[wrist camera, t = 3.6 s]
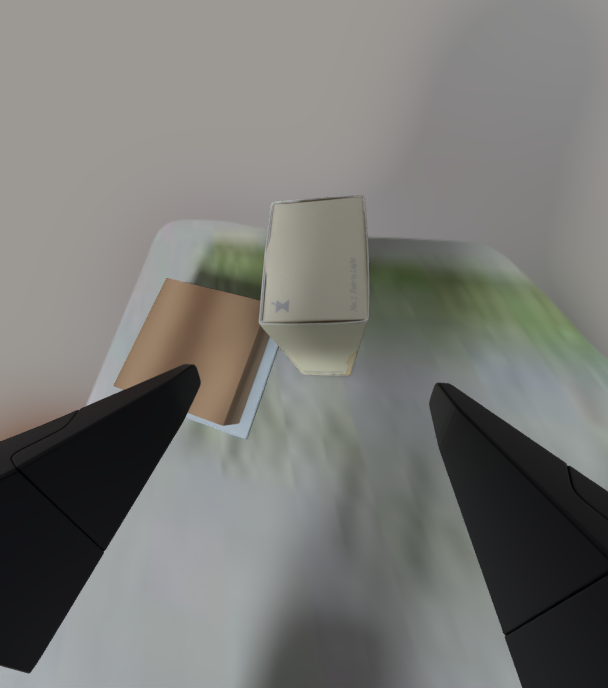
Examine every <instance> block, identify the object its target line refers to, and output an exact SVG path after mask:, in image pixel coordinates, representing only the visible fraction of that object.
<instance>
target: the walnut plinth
mask: <svg viewBox="0 0 608 688" xmlns="http://www.w3.org/2000/svg"><path fill="white" fill-rule="evenodd" d="M259 313H260V300H256V299H252V298H248V297H243V296H239V295H235V294H231V293H227V292H223V291H219V290H214V289H210V288H206V287H202V286H198V285H194V284H189V283H185V282H181V281H177V280H173V279H169V278H166V280H165V282H164V284H163V286H162V288H161V290H160V292H159V294H158V296H157V298H156V300H155V302H154V304H153V306H152V308H151V310H150V312H149V314H148V317H147V319H146V321H145V323H144V325H143V327H142V329H141V331H140V333H139V335H138V337H137V339H136V341H135V343H134V345H133V347H132V349H131V351H130V353H129V355H128V357H127V359H126V361H125V363H124V365H123V367H122V369H121V371H120V373H119V375H118V377H117V379H116V381H115V383H114V385H113V386H115V387H118V388H121V389H123V390H125V389H127V388H130V387H132V386H134V385H137V384H139V383H141V382H144V381H146V380H148V379H150V378H153V377H155V376H157V375H160V374H162V373H164V372H167V371H169V370H171V369H174V368H176V367H178V366H181V365H183V364H194V365H195V366H196V367H197V370H198V373H199V376H200V380H201V385H200V388H199V390H198V392H197V394H196V397H195V399H194V401H193V403H192V405H191V407H190V409H189V411H188V413H189V414H192V415H194V416H197V417H200V418H203V419H205V420H208V421H211V422H214V423H216V424H219V425H222V426H226V425H233V424H239V423H240V420H241V417H242V414H243V411H244V409H245V406H246V403H247V400H248V397H249V394H250V392H251V389H252V386H253V383H254V380H255V378H256V375H257V372H258V369H259V366H260V364H261V361H262V358H263V355H264V352H265V349H266V347H267V344H268V341H269V338H270V336H269V335H268V334H267V332H266V331H265V330H264V329H263V328H262V327H261V325H260V324H259Z"/></svg>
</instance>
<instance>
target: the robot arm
mask: <svg viewBox="0 0 608 688" xmlns="http://www.w3.org/2000/svg"><path fill="white" fill-rule="evenodd" d="M200 385H201V380H200V376H199V373H198V370H197V367H196V366H195V365H194V364H183V365H181V366H178V367H176V368H174V369H171V370H169V371H167V372H164V373H162V374H160V375H157V376H155V377H153V378H150V379H148V380H146V381H144V382H141V383H139V384H137V385H134V386H132V387H130V388H127V389H125V390H123V391H120V392H118V393H116V394H113V395H111V396H109V397H107V398H104V399H102V400H100V401H97V402H95V403H93V404H90V405H88V406H86V407H83V408H81V409H80V410H76V411H74V412H72V413H69V414H67V415H65V416H62V417H60V418H58V419H55V420H53V421H51V422H48V423H46V424H43V425H41V426H38V427H36V428H34V429H31V430H28V431H26V432H23V433H21V434H18V435H16V436H13V437H11V438H8V439H6V440H3V441H0V666H3V667H6V668H10V669H14V670H17V671H21V672H25V673H28V674H29V673H30V672H31V671H32V670H33V668H34V667H35V665H36V664H37V663H38V661H39V659H40V658H41V656H42V655H43V653H44V651H45V650H46V648H47V646H48V645H49V643H50V641H51V640H52V638H53V636H54V635H55V633H56V631H57V630H58V628H59V627H60V625H61V623H62V622H63V620H64V618H65V617H66V615H67V613H68V612H69V610H70V608H71V607H72V605H73V603H74V602H75V600H76V598H77V597H78V595H79V593H80V592H81V590H82V588H83V587H84V585H85V583H86V582H87V580H88V579H89V577H90V575H91V574H92V572H93V570H94V569H95V567H96V565H97V564H98V562H99V560H100V559H101V557H102V555H103V554H104V551H105V550H106V548H107V547H108V545H109V544H110V542H111V540H112V539H113V537H114V535H115V534H116V532H117V530H118V529H119V527H120V525H121V524H122V522H123V520H124V519H125V517H126V515H127V514H128V512H129V510H130V509H131V507H132V506H133V504H134V502H135V501H136V499H137V497H138V496H139V494H140V492H141V491H142V489H143V487H144V486H145V484H146V482H147V481H148V479H149V477H150V476H151V474H152V472H153V471H154V469H155V468H156V466H157V464H158V463H159V461H160V459H161V458H162V456H163V454H164V453H165V451H166V449H167V448H168V446H169V444H170V443H171V441H172V439H173V438H174V436H175V434H176V433H177V431H178V430H179V428H180V426H181V425H182V423H183V421H184V419H185V417H186V415H187V413H188V411H189V409H190V407H191V405H192V403H193V401H194V399H195V397H196V394H197V392H198V390H199V388H200ZM429 406H430V411H431V415H432V420H433V424H434V429H435V433H436V438H437V442H438V446H439V450H440V453H441V456H442V459H443V461H444V464H445V467H446V470H447V473H448V476H449V479H450V481H451V484H452V487H453V490H454V493H455V496H456V499H457V501H458V504H459V507H460V510H461V513H462V516H463V519H464V521H465V524H466V527H467V530H468V533H469V536H470V539H471V542H472V544H473V547H474V550H475V553H476V556H477V559H478V562H479V564H480V567H481V570H482V573H483V576H484V579H485V582H486V584H487V587H488V590H489V593H490V596H491V599H492V602H493V604H494V607H495V610H496V613H497V616H498V619H499V622H500V624H501V627H502V630H503V633H504V635H506V636H505V639H506V642H507V645H508V648H509V651H510V654H511V657H512V659H513V662H514V665H515V668H516V671H517V674H518V677H519V680H520V682H521V685H522V688H608V491H606V490H605V489H603V488H602V487H600V486H599V485H597V484H596V483H594V482H593V481H591V480H590V479H588V478H587V477H586V476H584V475H583V474H581V473H580V472H578V471H577V470H575V469H574V468H572V467H571V466H567V464H566V463H565V462H564V461H562V460H561V459H559V458H558V457H556V456H555V455H553V454H552V453H550V452H549V451H548V450H546V449H545V448H543V447H542V446H540V445H539V444H537V443H536V442H534V441H533V440H531V439H530V438H529V437H527V436H526V435H524V434H523V433H521V432H520V431H518V430H517V429H515V428H514V427H512V426H511V425H510V424H508V423H507V422H505V421H504V420H502V419H501V418H499V417H498V416H496V415H495V414H494V413H492V412H491V411H489V410H488V409H486V408H485V407H483V406H482V405H480V404H479V403H477V402H476V401H475V400H473V399H472V398H470V397H469V396H467V395H466V394H464V393H463V392H461V391H460V390H458V389H457V388H456V387H454V386H453V385H451V384H449V383H436V384H435V386H434V389H433V392H432V395H431V398H430V402H429Z"/></svg>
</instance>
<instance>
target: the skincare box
mask: <svg viewBox="0 0 608 688" xmlns="http://www.w3.org/2000/svg"><path fill="white" fill-rule="evenodd" d="M369 295H370V292H369V255H368V235H367V219H366V206H365V198H364V196H345V197H326V198H312V199H299V200H285V201H276V202H273V203H272V204H271V209H270V216H269V223H268V232H267V239H266V247H265V255H264V266H263V277H262V289H261V301H260V313H259V324H260V325H261V327H262V328H263V329H264V330H265V331H266V332H267V334H268V335H269V336H270V337H271V338H272V339H273V340H274V341H275V343H276V344H277V345H278V346H279V347H280V349H281V350H282V351H283V352H284V353H285V354H286V355H287V356H288V358H289V359H290V360H291V361H292V362H293V364H294V365H295V366H296V367H297V368H298V369H299V371H300V372H301V373H302V374H307V375H333V376H341V375H345V376H348V375H351V372H352V368H353V365H354V362H355V359H356V355H357V352H358V349H359V346H360V343H361V340H362V337H363V334H364V331H365V328H366V325H367V323H368V320H369Z"/></svg>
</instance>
